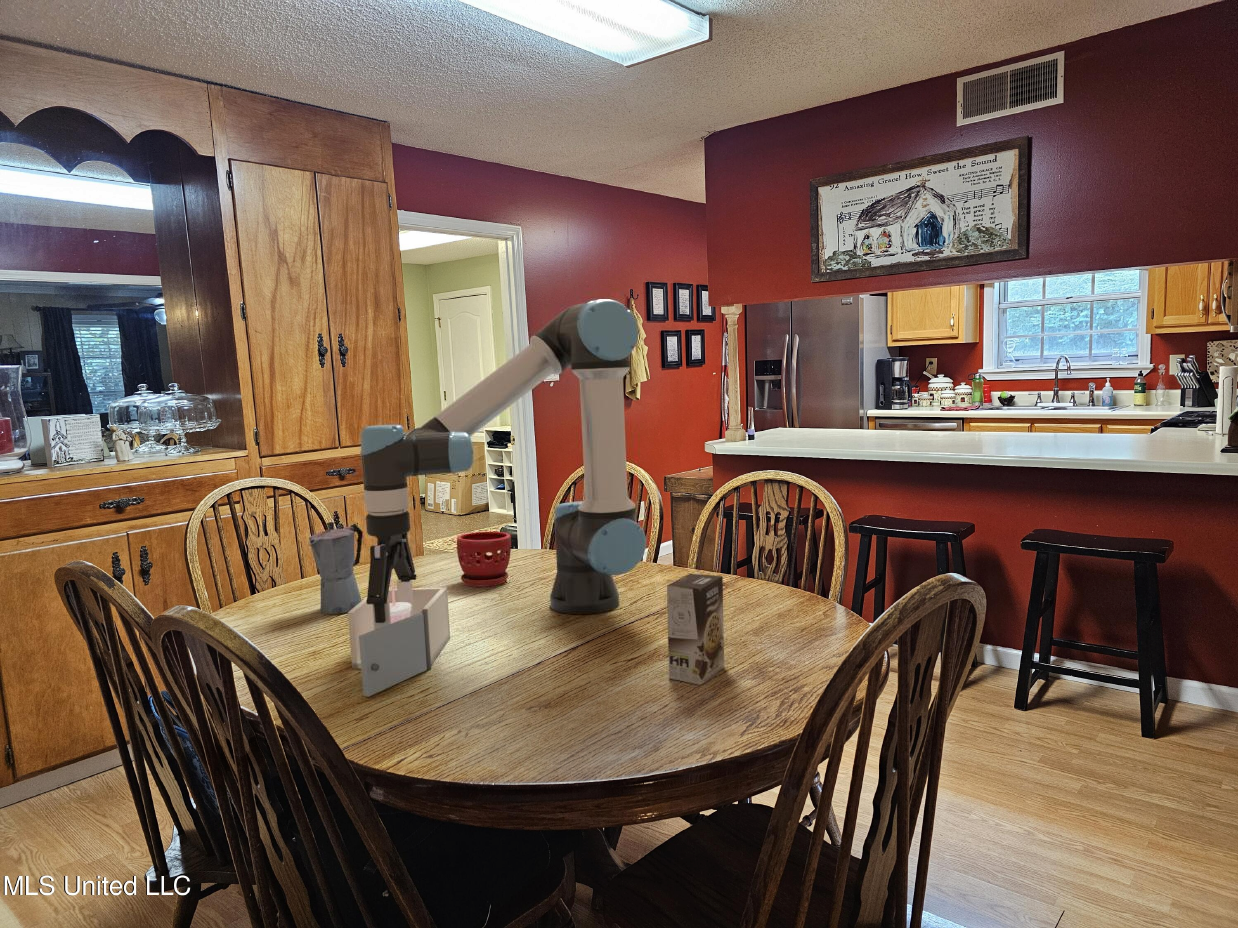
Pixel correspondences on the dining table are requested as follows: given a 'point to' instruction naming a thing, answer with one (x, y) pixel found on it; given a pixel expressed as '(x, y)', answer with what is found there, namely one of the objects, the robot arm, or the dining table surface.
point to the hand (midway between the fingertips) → (395, 626)
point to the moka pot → (337, 567)
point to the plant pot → (484, 557)
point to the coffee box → (695, 628)
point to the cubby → (425, 603)
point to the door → (392, 654)
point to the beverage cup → (398, 608)
